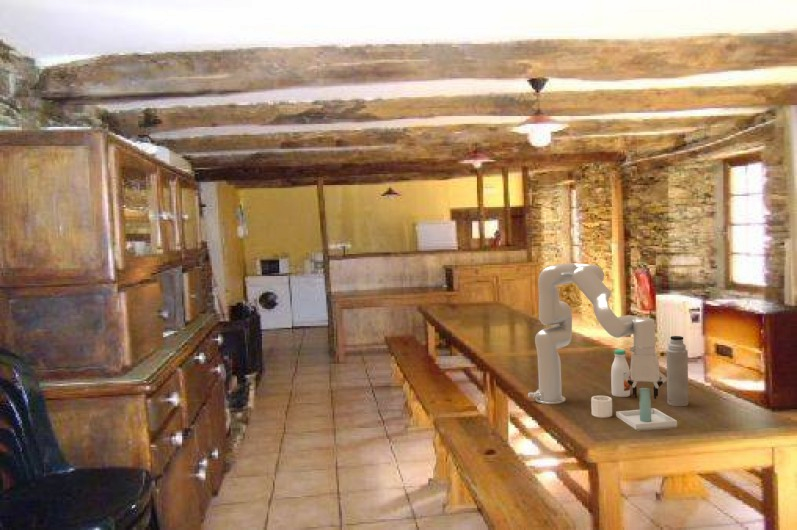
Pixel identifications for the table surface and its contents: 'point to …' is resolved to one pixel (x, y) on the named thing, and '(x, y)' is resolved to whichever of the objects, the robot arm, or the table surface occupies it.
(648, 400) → the peg
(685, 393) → the thermos bottle
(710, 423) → the table surface
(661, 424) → the tray
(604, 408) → the cup
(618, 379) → the milk bottle
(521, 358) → the table surface
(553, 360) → the robot arm
